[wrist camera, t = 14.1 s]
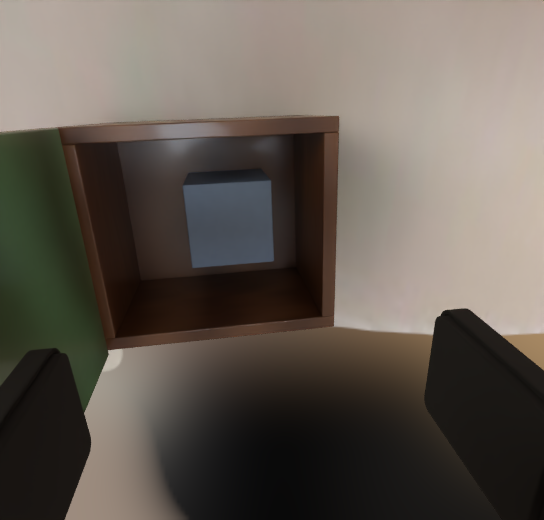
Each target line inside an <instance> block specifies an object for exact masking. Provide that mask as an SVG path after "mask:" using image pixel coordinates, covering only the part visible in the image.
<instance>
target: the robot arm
mask: <svg viewBox="0 0 544 520" xmlns="http://www.w3.org/2000/svg"><path fill="white" fill-rule="evenodd" d="M425 405H426V408H427V410H428V412H429V413H430V415H431V416H432V418H433V419H434V421H435V422H436V424H437V425H438V427H439V428H440V430H441V431H442V433H443V434H444V435H445V437H446V438H447V440H448V441H449V443H450V444H451V446H452V447H453V449H454V450H455V452H456V453H457V455H458V456H459V457H460V459H461V460H462V462H463V463H464V465H465V466H466V468H467V469H468V471H469V472H470V474H471V475H472V476H473V478H474V480H475V481H476V482H477V484H478V485H479V487H480V488H481V490H482V491H483V493H484V494H485V496H486V497H487V499H488V500H489V502H490V503H491V504H492V506H493V507H494V509H495V510H496V512H497V513H498V515H499V516H500V518H501V519H502V520H544V370H542V369H541V368H540V367H539V366H538V365H536V364H535V363H534V362H533V361H531V360H530V359H529V358H527V357H526V356H525V355H524V354H523V353H522V352H520V351H519V350H518V349H517V348H515V347H514V346H513V345H512V344H510V343H509V342H508V341H507V340H506V339H505V338H503V337H502V336H501V335H500V334H498V333H497V332H496V331H495V330H494V329H492V328H491V327H490V326H489V325H487V324H486V323H485V322H484V321H483V320H481V319H480V318H479V317H478V316H476V315H475V314H474V313H473V312H472V311H470V310H469V309H454V310H445V311H443V312H442V314H441V316H439V317H437V319H436V321H435V327H434V334H433V341H432V348H431V355H430V362H429V369H428V376H427V383H426V390H425ZM90 448H91V437H90V433H89V429H88V426H87V422H86V419H85V415H84V411H83V408H82V404H81V401H80V397H79V394H78V390H77V386H76V383H75V379H74V376H73V372H72V368H71V365H70V361H69V358H68V356H67V354H66V353H60V351H59V350H58V349H57V348H48V349H37V350H30V351H28V352H27V353H26V354H25V355H24V357H23V358H22V359H21V360H20V362H19V363H18V364H17V366H16V367H15V368H14V369H13V371H12V372H11V373H10V375H9V376H8V377H7V378H6V380H5V381H4V382H3V383H2V385H1V386H0V520H64V519H65V517H66V514H67V512H68V509H69V506H70V504H71V501H72V498H73V496H74V493H75V490H76V488H77V485H78V482H79V480H80V477H81V474H82V472H83V469H84V467H85V464H86V461H87V458H88V456H89V453H90Z"/></svg>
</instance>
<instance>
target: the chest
mask: <svg viewBox="0 0 544 520" xmlns="http://www.w3.org/2000/svg"><path fill="white" fill-rule="evenodd" d="M55 128H58V130H59V134H60V139H61V143H62V148H63V152H64V157H65V161H66V166H67V170H68V175H69V179H70V184H71V188H72V192H73V197H74V201H75V206H76V210H77V215H78V219H79V224H80V228H81V233H82V237H83V242H84V246H85V251H86V255H87V260H88V264H89V269H90V273H91V278H92V282H93V287H94V291H95V296H96V300H97V305H98V309H99V314H100V318H101V322H102V327H103V331H104V336H105V340H106V345H107V349H108V350H114V349H123V348H133V347H142V346H152V345H161V344H171V343H180V342H190V341H199V340H209V339H218V338H228V337H237V336H247V335H256V334H266V333H275V332H285V331H294V330H303V329H312V328H322V327H332V326H334V304H335V265H336V225H337V186H338V146H339V116H316V115H294V116H269V117H244V118H219V119H193V120H168V121H143V122H118V123H100V124H89V125H78V126H66V127H55ZM248 169H262V170H263V172H264V173H265V174H266V175H267V176H268V178H269V179H270V180H271V193H272V220H273V248H274V261H271V262H259V263H247V264H235V265H223V266H211V267H199V268H192V262H191V253H190V245H189V236H188V228H187V219H186V211H185V203H184V194H183V184H184V182H185V179H186V177H187V175H188V173H193V172H211V171H229V170H248Z"/></svg>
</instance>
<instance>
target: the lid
mask: <svg viewBox="0 0 544 520" xmlns="http://www.w3.org/2000/svg"><path fill="white" fill-rule="evenodd" d="M48 348H57V349H58V350H59V351H60V353H66V354H67V356H68V358H69V361H70V365H71V368H72V372H73V376H74V379H75V383H76V386H77V390H78V394H79V397H80V401H81V404H82V408H83V411H84V412H85V410H86V407H87V405H88V403H89V400H90V398H91V395H92V393H93V391H94V388H95V386H96V383H97V381H98V379H99V376H100V374H101V372H102V369H103V367H104V364H105V362H106V360H107V357H108V355H109V354H108V349H107V345H106V340H105V336H104V331H103V327H102V322H101V318H100V314H99V309H98V305H97V300H96V296H95V291H94V287H93V282H92V278H91V273H90V269H89V264H88V260H87V255H86V251H85V246H84V242H83V237H82V233H81V228H80V224H79V219H78V215H77V210H76V206H75V201H74V197H73V192H72V188H71V184H70V179H69V175H68V170H67V166H66V161H65V157H64V152H63V148H62V143H61V139H60V134H59V130H58V128H39V129H28V130H17V131H5V132H0V386H1V385H2V383H3V382H4V381H5V380H6V378H7V377H8V376H9V375H10V373H11V372H12V371H13V369H14V368H15V367H16V366H17V364H18V363H19V362H20V360H21V359H22V358H23V357H24V355H25V354H26V353H27V352H28V351H30V350H37V349H48Z"/></svg>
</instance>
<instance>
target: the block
mask: <svg viewBox="0 0 544 520" xmlns="http://www.w3.org/2000/svg"><path fill="white" fill-rule="evenodd" d="M183 194H184V203H185V211H186V219H187V228H188V236H189V245H190V253H191V262H192V268H199V267H211V266H223V265H235V264H247V263H259V262H271V261H274V248H273V220H272V193H271V180H270V179H269V178H268V176H267V175H266V174H265V173H264V172H263V170H262V169H248V170H229V171H211V172H193V173H188V175H187V177H186V179H185V182H184V184H183Z"/></svg>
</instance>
